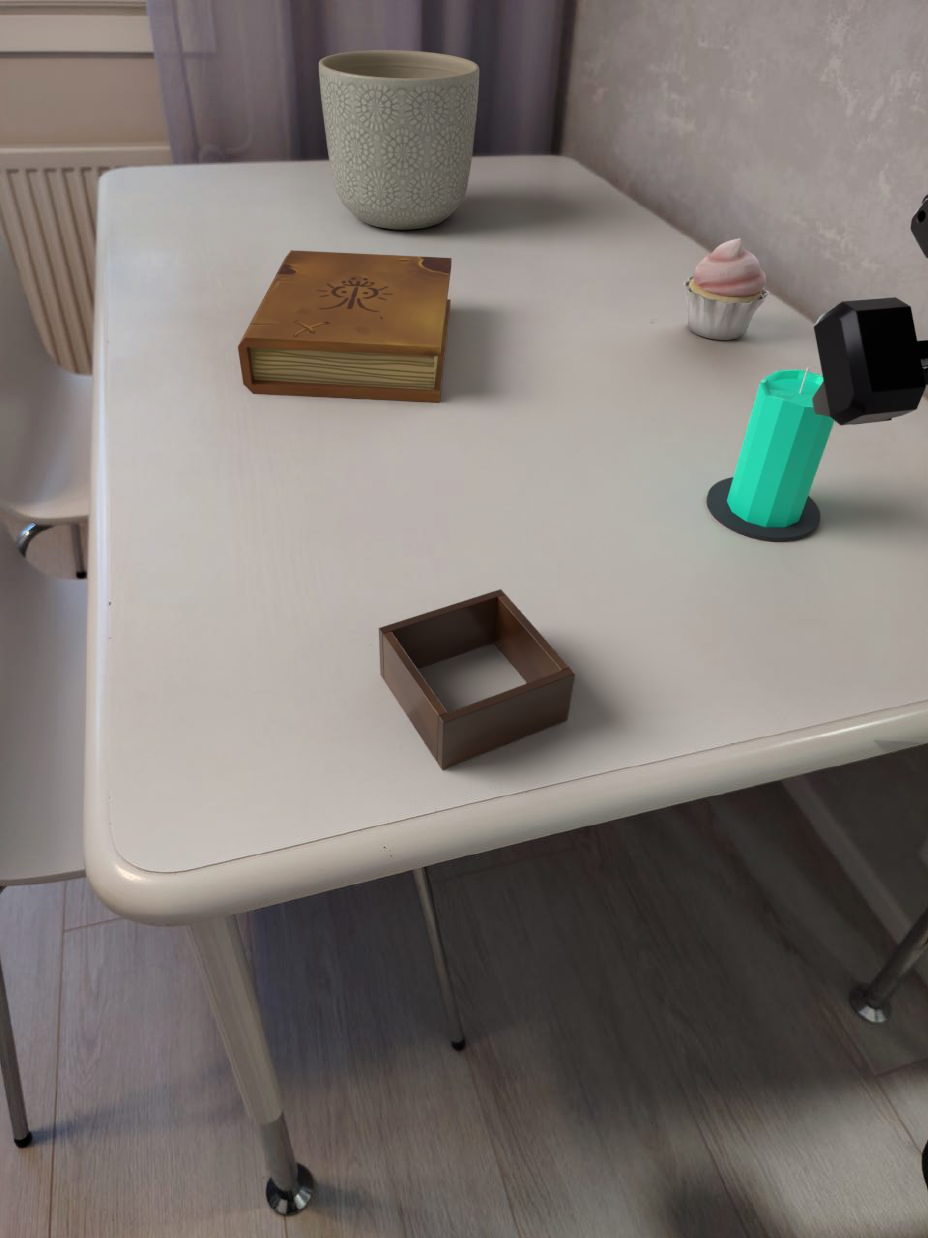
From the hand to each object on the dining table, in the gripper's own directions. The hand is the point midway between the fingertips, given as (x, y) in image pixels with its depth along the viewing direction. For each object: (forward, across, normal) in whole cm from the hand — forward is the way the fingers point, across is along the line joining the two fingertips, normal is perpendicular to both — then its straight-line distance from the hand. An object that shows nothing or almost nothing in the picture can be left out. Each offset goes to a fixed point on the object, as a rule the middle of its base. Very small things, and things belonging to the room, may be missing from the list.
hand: (877, 399), depth 56 cm
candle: (+15, 0, +4) cm, 15 cm away
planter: (+71, +13, -52) cm, 89 cm away
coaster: (+15, 0, +4) cm, 16 cm away
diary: (+41, +27, -22) cm, 54 cm away
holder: (+4, +29, +15) cm, 33 cm away
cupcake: (+39, -14, -20) cm, 46 cm away
